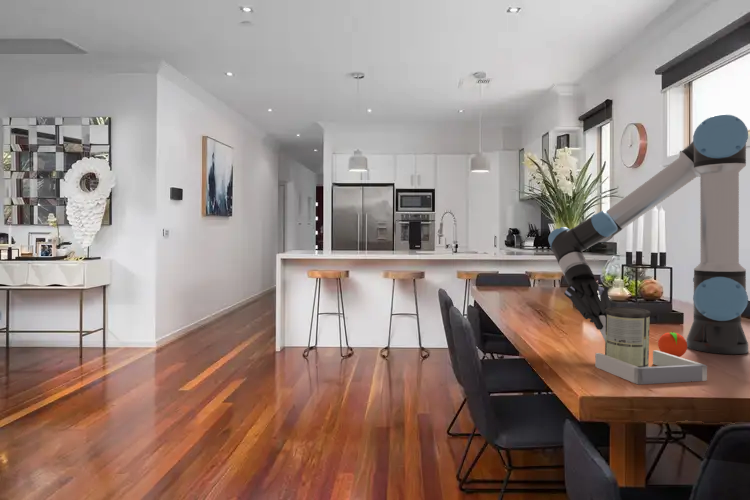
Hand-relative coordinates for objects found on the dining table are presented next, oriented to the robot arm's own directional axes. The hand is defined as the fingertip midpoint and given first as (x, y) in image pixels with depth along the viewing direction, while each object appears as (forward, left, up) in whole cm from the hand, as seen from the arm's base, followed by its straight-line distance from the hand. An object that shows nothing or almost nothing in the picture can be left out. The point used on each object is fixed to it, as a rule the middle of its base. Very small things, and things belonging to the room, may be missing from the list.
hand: (609, 338), depth 138 cm
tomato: (-16, -9, -6) cm, 19 cm away
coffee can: (-4, +4, -6) cm, 8 cm away
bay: (-7, +11, -6) cm, 14 cm away
